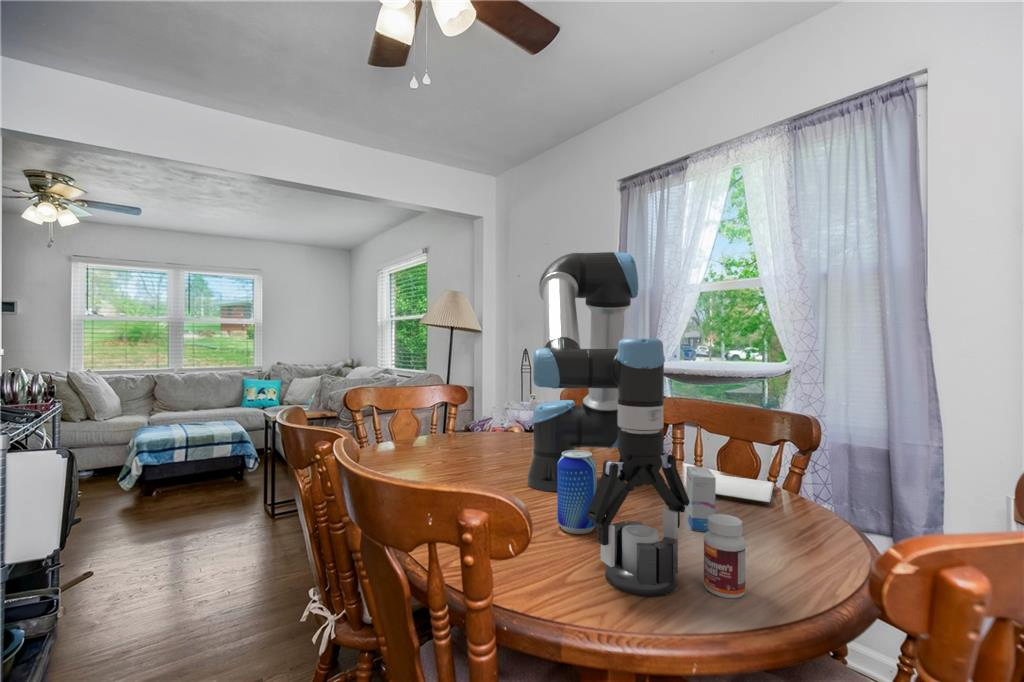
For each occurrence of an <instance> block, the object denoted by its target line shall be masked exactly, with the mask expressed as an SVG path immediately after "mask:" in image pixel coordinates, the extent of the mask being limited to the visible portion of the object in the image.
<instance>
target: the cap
mask: <svg viewBox="0 0 1024 682" xmlns="http://www.w3.org/2000/svg"><path fill="white" fill-rule="evenodd" d="M659 532H660V531H659V530H657V529H656V528H654V527H653V526H648V525H644V524H643V525H628V526H625V527H624V528H623V529H622V567H623V569H624V570H626V571H627V572H629V573H631V574H635V575H637V543H655V542H660V533H659Z"/></svg>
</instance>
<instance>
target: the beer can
mask: <svg viewBox="0 0 1024 682" xmlns="http://www.w3.org/2000/svg"><path fill="white" fill-rule="evenodd" d="M597 466H598V465H597V462H596V461H595V459H594V457H593V453H592V452H590V451H588V450H582V449H579V450H578V449H575V450H568V451H564V452H562V456H561V458H560V460H559V461H558V464H557V491H556V492H557V497H556V498H557V500H556V501H557V506H556V507H557V513H556V514H557V515H556V516H557V517H556V518H557V523H558V524H559V526H560V528H561V530H563V532H565V533H569V534H575V535H584V534H588V533H591V532H593V530H594V528H595V527H596V526H597V524H596V523H594V522H593V521H591V520H589V519H588V518H587V513H588V510H589V507H590V505H591V502H592V500H593V497H594V494H595V492H596V489H597V487H598V483H597V481H598V474H597V473H598V467H597Z"/></svg>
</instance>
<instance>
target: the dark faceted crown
mask: <svg viewBox="0 0 1024 682" xmlns="http://www.w3.org/2000/svg"><path fill="white" fill-rule="evenodd" d="M612 525H614V526H615V566H614V567H610V566H608V565H607V564H606V563H604V565H605V567H604V570H605V571H604V575H605V580H606V581H607V583H608V584H609V585H610V586H612V587H613V588H615V589H616V590H618V591H619V592H620V591H621V592H623V593H625V594H627V595H632V596H635V597H637V596H638V597H643V598H658V597H663V596H666V595H669V594H671V593H672V592H674V591H675V590H676V588H677V584H678V583H677V582H678V581H677V580H678V577H677V576H678V572H679V571H678V569H679V568H678V565H679V564H678V563H679V562H678V560H679V559H678V558H679V555H678V554H679V550H678V547H679V544H678V542H679V538H678V539H674V538H669V537H664V538H663V537H662V539H661V540H659V542H655V543H637V575H635V574H631V573H629V572H627V571H626V570H624V569H623V567H622V529H623V528H624V527H625V526H628V525H644V524H643V522H642V521H638V520H637V521H635V520H626V521H625V520H623V521H619V522H614V523H612Z"/></svg>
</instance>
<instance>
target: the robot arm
mask: <svg viewBox="0 0 1024 682" xmlns="http://www.w3.org/2000/svg"><path fill="white" fill-rule="evenodd" d="M543 271H544V272H543V273H542V274H541V277H540V279H539V283H538V284H539V285H538V286H539V287H538V289H539V290H538V291H539V296H540V298H541V299H542V301H543V303H542V305H543V306H542V307H543V308H542V310H543V311H542V312H543V313H542V318H543V319H542V321H543V323H542V325H543V328H542V329H543V330H542V331H543V334H542V336H543V337H542V341H543V343H542V345H543V347H542V348H537V349H535V350H534V351H533V359H532V360H533V361H532V362H533V364H532V365H533V370H532V371H533V373H532V374H533V383H534V385H535V386H536V387H537V388H538V387H539V388H548V389H549V388H550V389H551V388H552V389H556V390H557V389H588V394H587V395H586V396H585V397H584V398H583V399H582V405H576V402H575V401H574V400H573V399H572V400H571V399H560V400H551V401H547V402H541V403H539V404H537V405H536V406H535V407H534V409H533V419H532V423H533V457H532V460H531V463H530V466H529V469H528V473H527V475H526V476H527V477H526V478H527V479H526V481H527V482H526V483H527V486H529V487H530V488H533V489H536V490H539V491H543V492H544V491H545V492H557V464H558V461H559V460H560V458H561V456H562V452H564V451H568V450H576V449H575V448H592V449H593V448H596V449H597V448H601V449H602V448H603V449H605V448H606V449H611V448H614V449H615V448H617V451H618V453H619V459H618V461H615V462H613V461H610V460H604V461H603V462H602V463H603V464H602V472H601V477H600V478H599V481H598V483H597V489H596V492H595V494H594V497H593V500H592V502H591V505H590V507H589V510H588V513H587V518H588V519H589V520H591V521H593V522H594V523H596V526H597V527H596V528H597V533H596V534H597V535H596V536H597V538H596V539H597V542H598V544H600V561H601V562H602V563H604V564H605V563H606V564H607V565H608V566H610V567H614V566H615V526H614V525H613V523H612V522H613V521H614V519H615V517H616V516H617V514H618V512H619V511H620V509H621V507H622V505H623V504H624V502H625V500H626V498H627V497H628V495H629V494H630V492H632V491H634V490H635V488H641V487H643V486H644V485H645V486H652V487H653V488H654V490H655V491H656V493H658V495H659V496H660V498H661V500H663V502H664V504H665V505H666V506H667V507H663V509H662V518H663V519H662V521H663V522H662V539H663V538H664V537H669V538H674V539H678V540H679V536H678V535H679V528H680V526H681V525H680V524H681V513H684V512H686V506H688V505H689V502H690V501H689V498H688V496H687V493H686V487H685V486H684V483H683V481H682V478H681V476H680V474H679V471H678V469H677V459H676V456H675V455H673V454H670V453H666V452H664V451H665V450H664V449H665V448H664V444H665V443H664V441H665V440H664V436H665V434H664V432H663V431H661V430H662V429H664V399H665V398H664V396H665V395H664V392H665V391H664V388H665V386H664V381H665V380H664V377H665V374H664V373H665V372H664V371H665V368H664V367H665V362H666V357H665V355H664V343H663V341H662V340H661V339H659V338H624V321H625V320H624V319H625V312H626V310H628V309H629V308H630V307H631V305H632V304H631V300H632V299H633V300H634V299H635V298H637V297H638V294H639V276H638V269H637V265H636V261H635V259H634V257H633V255H632V254H631V253H627V252H620V251H619V252H618V251H617V252H616V251H605V252H571V253H567V254H564V255H562V256H560V257H559V258H557V259H555V260H554V261H552V262H551V263H550V264H549V265H548V266H547V268H545V270H543ZM576 299H585V306H586V307H587V308H588V309H589V310H590V340H589V341H590V342H589V348H581V343H580V334H579V333H580V332H579V325H578V324H579V323H578V316H577V314H578V313H577V305H576ZM661 469H662V473H663V475H664V476H663V475H662V474H661V471H660V470H661ZM666 482H667V483H666Z"/></svg>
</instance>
